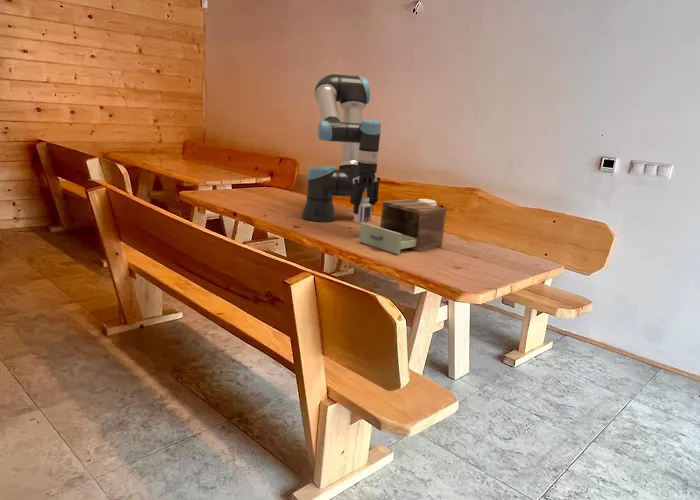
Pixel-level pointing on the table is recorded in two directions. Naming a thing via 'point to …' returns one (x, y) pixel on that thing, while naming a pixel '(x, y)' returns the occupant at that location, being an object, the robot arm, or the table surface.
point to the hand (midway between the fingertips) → (362, 220)
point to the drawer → (385, 238)
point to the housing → (415, 221)
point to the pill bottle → (365, 210)
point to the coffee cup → (427, 201)
